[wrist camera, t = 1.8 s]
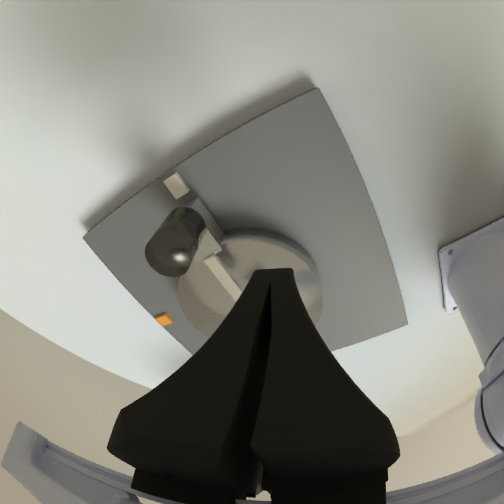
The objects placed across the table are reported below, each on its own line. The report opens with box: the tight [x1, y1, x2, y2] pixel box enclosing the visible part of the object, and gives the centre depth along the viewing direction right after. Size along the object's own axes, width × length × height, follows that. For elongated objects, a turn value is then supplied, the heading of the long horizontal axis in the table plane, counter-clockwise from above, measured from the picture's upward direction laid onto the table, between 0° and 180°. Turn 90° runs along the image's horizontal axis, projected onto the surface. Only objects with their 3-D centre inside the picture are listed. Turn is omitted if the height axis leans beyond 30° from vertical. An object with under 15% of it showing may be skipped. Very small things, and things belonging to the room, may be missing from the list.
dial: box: [145, 197, 323, 338], centre depth 18 cm, size 13×10×5 cm
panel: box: [83, 88, 408, 355], centre depth 21 cm, size 20×20×2 cm
